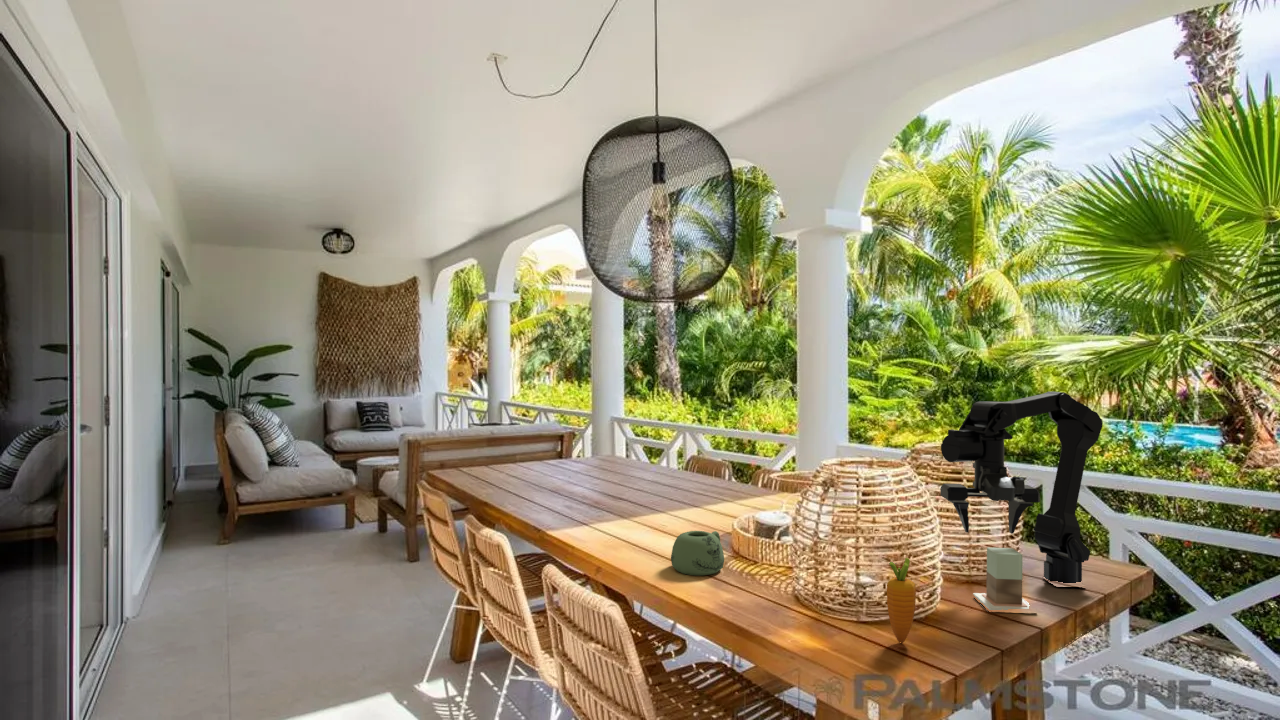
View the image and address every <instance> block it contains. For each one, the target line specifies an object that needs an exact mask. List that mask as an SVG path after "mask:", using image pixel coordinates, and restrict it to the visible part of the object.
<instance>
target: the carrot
mask: <svg viewBox="0 0 1280 720" xmlns="http://www.w3.org/2000/svg"><path fill="white" fill-rule="evenodd" d="M910 562H911V559H910V558H908V557H905V558H904V563H903V565H902V567H901V568H900V567H898V568H897V566H896V563H895V564H894V563H893V562H890V563H889V566H890V567H891V569H892V571H893V573H894V575H895V577H892V578H890V579H889V580H888V582H886V583H887V584H886V604H887V605H886V606H887V612H888V618H889V623H890V626H891V629H892V632H893V635H894V637H895V638H896V640H897V642H898V643H900V642H901V643H902V644H904V642H905V641H906V640H907V638H908V636H909V634H910V632H911V629H912V626H913V622H914V617H915V611H916V601H917V599H916V598H917V597H916V596H917V587H916V583H915V582H914V581H912V580H911V579H909V578H906V577H907V574H908V572H909V566H910ZM901 643H900V644H901Z"/></svg>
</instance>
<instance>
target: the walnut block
mask: <svg viewBox="0 0 1280 720" xmlns="http://www.w3.org/2000/svg"><path fill="white" fill-rule="evenodd" d="M985 587H986V595H987V596H988V597H989V598H990V599H991V600H992V601H994V602H995V603H996V604H1022V598H1023V579H1022V580H1016V579H996V578H995V577H993V576H992V575H991V574H989V573H988V572H987V571H986V586H985Z"/></svg>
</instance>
